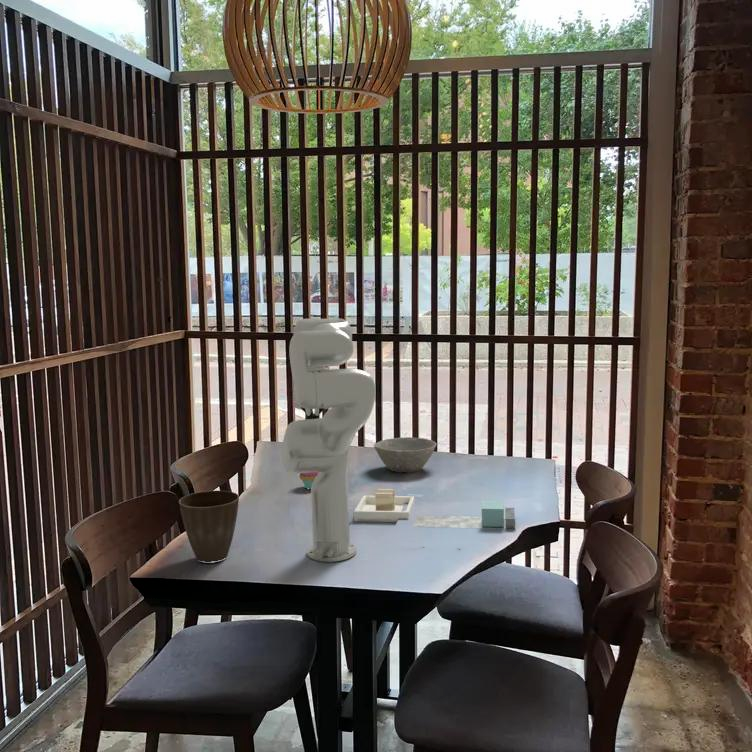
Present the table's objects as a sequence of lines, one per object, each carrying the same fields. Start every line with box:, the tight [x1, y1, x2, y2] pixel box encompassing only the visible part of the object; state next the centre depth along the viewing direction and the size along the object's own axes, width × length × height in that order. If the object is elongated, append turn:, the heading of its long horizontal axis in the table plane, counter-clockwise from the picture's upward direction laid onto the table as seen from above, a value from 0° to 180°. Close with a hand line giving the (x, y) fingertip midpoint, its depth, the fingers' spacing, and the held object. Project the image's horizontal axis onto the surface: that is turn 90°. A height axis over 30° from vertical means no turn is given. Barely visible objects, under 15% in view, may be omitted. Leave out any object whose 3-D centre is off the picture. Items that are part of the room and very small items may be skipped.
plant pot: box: [178, 490, 240, 562], centre depth 191 cm, size 15×15×16 cm
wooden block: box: [374, 488, 396, 511], centre depth 224 cm, size 5×5×6 cm
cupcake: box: [299, 472, 319, 489], centre depth 254 cm, size 9×8×12 cm
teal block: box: [481, 499, 505, 527], centre depth 209 cm, size 8×6×5 cm
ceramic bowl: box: [373, 437, 437, 473], centre depth 274 cm, size 22×23×10 cm
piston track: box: [412, 507, 516, 530], centre depth 211 cm, size 10×28×4 cm, turn 81°
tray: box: [353, 495, 416, 523], centre depth 224 cm, size 16×16×3 cm
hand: (314, 428), depth 208 cm, fingers closed
